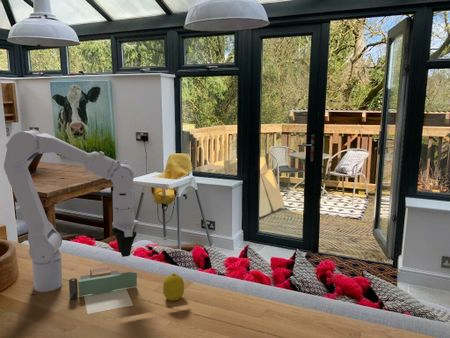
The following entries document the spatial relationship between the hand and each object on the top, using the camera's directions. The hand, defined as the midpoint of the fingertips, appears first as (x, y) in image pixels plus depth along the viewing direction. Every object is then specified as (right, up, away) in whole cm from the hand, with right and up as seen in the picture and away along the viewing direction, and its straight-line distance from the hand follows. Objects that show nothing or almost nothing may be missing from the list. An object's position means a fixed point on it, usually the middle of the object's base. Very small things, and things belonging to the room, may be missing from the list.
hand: (124, 253), depth 108 cm
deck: (-4, -10, -4) cm, 12 cm away
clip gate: (-3, -9, -5) cm, 11 cm away
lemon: (+15, -11, -8) cm, 20 cm away
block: (-7, -8, -1) cm, 11 cm away
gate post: (-11, -11, -9) cm, 18 cm away
